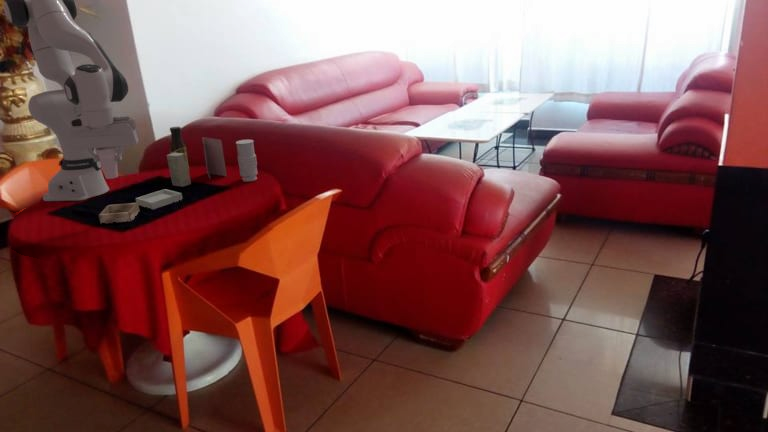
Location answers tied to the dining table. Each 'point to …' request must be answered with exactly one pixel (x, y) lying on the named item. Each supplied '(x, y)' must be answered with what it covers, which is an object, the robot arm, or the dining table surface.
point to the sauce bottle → (177, 142)
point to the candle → (247, 160)
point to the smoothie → (108, 161)
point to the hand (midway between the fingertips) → (108, 160)
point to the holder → (119, 213)
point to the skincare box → (178, 169)
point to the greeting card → (214, 156)
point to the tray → (159, 199)
